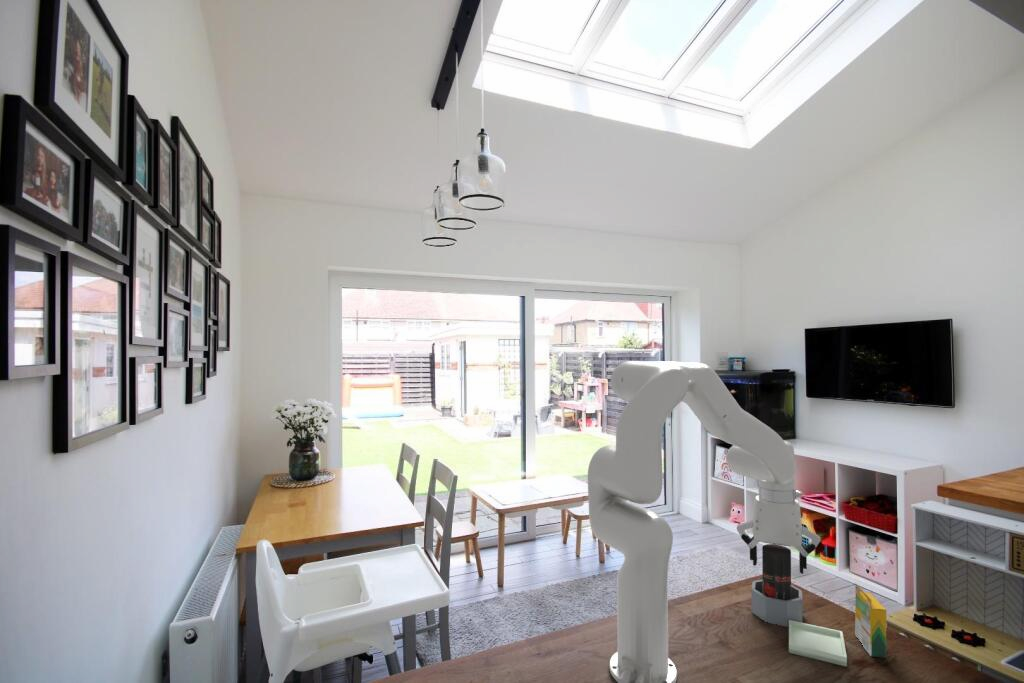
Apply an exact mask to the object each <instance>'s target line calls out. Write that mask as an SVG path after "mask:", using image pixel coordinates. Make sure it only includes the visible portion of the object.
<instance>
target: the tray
mask: <svg viewBox="0 0 1024 683" xmlns="http://www.w3.org/2000/svg"><path fill="white" fill-rule="evenodd" d="M788 652H789V654H794V655H797V656H800V657H801V656H802V657H807V658H810V659H813V660H816V661H817V660H818V661H822V662H826V663H830V664H834V665H839V666H842V667H848V655H847V651H846V644H845V639H844V633H843V631H842V630H837V629H832V628H829V627H824V626H819V625H814V624H809V623H805V622H803V623H801V622H796V621H792V620H789V627H788Z"/></svg>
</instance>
